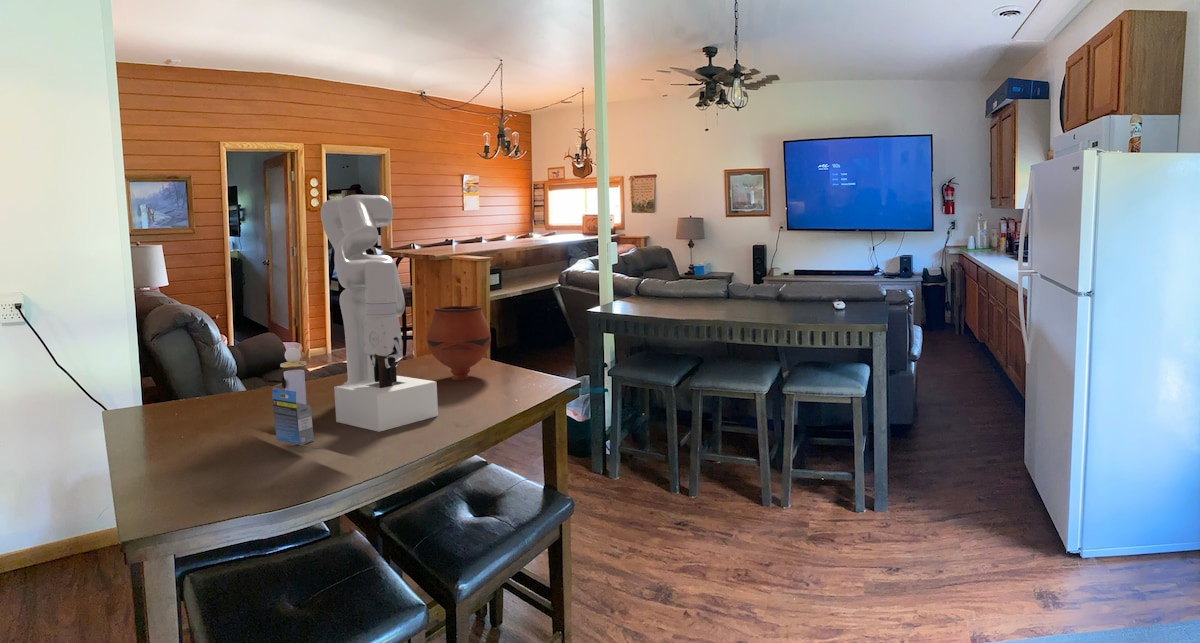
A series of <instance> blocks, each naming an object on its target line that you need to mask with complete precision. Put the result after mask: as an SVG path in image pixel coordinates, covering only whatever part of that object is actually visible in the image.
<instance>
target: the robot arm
mask: <svg viewBox="0 0 1200 643" xmlns="http://www.w3.org/2000/svg"><path fill="white" fill-rule="evenodd" d="M393 208H394V207H393V205H392V203H391V201H390V199H389V198H388V197H387V196H385V195H381V194H380V195H379V194H351V195H347V196H344V197H341V198H332V199H328V200H326V201H324V202H323V203H322V205H321V208H320V218H321V224H322V228H323V231H324V233H325V235H326V237H327V239H328V240H329V243H330V244H331V246H332V248H333V250H334V256H333V260H334V263H333V264H334V268H335V271H336V275H337V280H338V283H339V284H340V286H341V287H342V288H344V289H343V290H342V292H341V293H340V294H339V306H340V307H339V308H340V310H341V311H340V312H341V315H342V316H341V317H342V321H343V329H344V337H345V338H344V340H345V353H346V354H345V355H346V368H347V369H346V371H347V380H346V381H345V382H344V383H343V384H342V385H346V384H351V383H356V382H361V381H366V380H371V379H375V382H379V368H378V366H379V365H378V359H375V358H374V355H375V354H376V355H378V356H386V357H387V359H385V365H386V368H384V376H385V383H386V384H389V383H394V382H396V381H397V376H398V375H397V367H398V365H399V364H398V363H399V362H400V361H401V359H403V358H404V355H403V352H402V351H403V339H402V338H403V337H402V331H401V323H400V319H399V317H401V316H402V315H403V314H404V312H405V308H406V301H405V296H404V290H403V287H402V283H401V280H400V274H399V270H398V267H397V264H396V261H395V260H394V259H393V258H392V256H389V255H386V254H368V253H367V250H369V249H371V248H372V247H374V246H375V245H376V244H377V243H378V241H379V237H380V234H379V231H378V228H381V227H387V226H389V225H390V224H391V223H392V221H393V219H394V209H393ZM392 352H394V354H393V355H389V354H391V353H392ZM390 357H393V358H391V360H389V358H390ZM396 375H397V376H396Z"/></svg>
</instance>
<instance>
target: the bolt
mask: <svg viewBox="0 0 1200 643" xmlns="http://www.w3.org/2000/svg"><path fill="white" fill-rule="evenodd" d="M393 354H394V352H392V353H391V354H389V355H393ZM374 358H375V359H378V365H379V366H378V368H379V386H380V387H378V388H385V387H389V386H392V383H389V384H386V383H385V376H384V368H386V365H385V359H387V357H386V356H378V355H376V354H375V355H374ZM391 358H393V357H390V358H389V360H391Z"/></svg>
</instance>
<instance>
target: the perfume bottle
mask: <svg viewBox="0 0 1200 643" xmlns="http://www.w3.org/2000/svg"><path fill="white" fill-rule="evenodd" d="M301 357H302V352H301V351H300V349H299V348H298V347H294V346H292V347H288V348H287V349H286V350H285V352H284V359H285V360H286V362H282V363H280V364H279V365H280V366H279V367H280V368H284V369H285V368H288V370H285V371H283V374H282V375H283V376H282V377H281V378H280V380H281V388H282V389H283V390H289V391H296V402H297V403H302V404H306V405H308V403H307V392H306V391H307V390H306V379H305V378H306V375H305V370H304V369H290V370H289V368H300V367H304V366H307V361H304V360H303V361H301V360H300V359H301ZM284 395H285V394H284ZM284 398H288V396H287V395H285V397H284Z"/></svg>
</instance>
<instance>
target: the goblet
mask: <svg viewBox="0 0 1200 643" xmlns="http://www.w3.org/2000/svg"><path fill="white" fill-rule="evenodd" d="M433 311H434V312H433V316H432V319H431V321H430V324H429V328H428V331H427V337H426V342H427V347H428V350H429V352H430V353H431V355H432V356H433V357H434V358H435V359H436V360H437V361H438V362H440V363H441V364H442V365H444V366H446V367H448V368H450V373H452V377H451V380H454V381H463V380H467V379H468V378H470V376H469V373H470V372H471V368H472V367H474V366H475V365H476V364H478V363H479V362H480V361H481V360H483V358H484V357H485V355H486V354H487V353H488V351H489V349H490V346H491V344H492V335H491V331H490V326H489V324H488V321H487V319H486V317H485V315H484V312H483V310H482V305H466V306H465V305H463V306H462V305H451V306H439V307H434V309H433Z"/></svg>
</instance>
